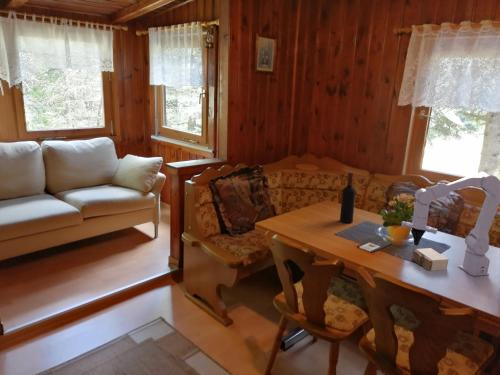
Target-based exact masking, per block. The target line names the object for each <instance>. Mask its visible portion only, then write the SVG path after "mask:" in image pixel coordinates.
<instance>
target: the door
mask: <svg viewBox="0 0 500 375" xmlns="http://www.w3.org/2000/svg"><path fill="white" fill-rule="evenodd" d="M412 250H413V251H412V256H411V257H412V258H411V259H412V260H413V261H414V262H415V263H416V264H417V265H418V266H422V261H421V259H423V256H422V255H421V254H420V253H419V252H418V251H416V248H413V249H412Z"/></svg>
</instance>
